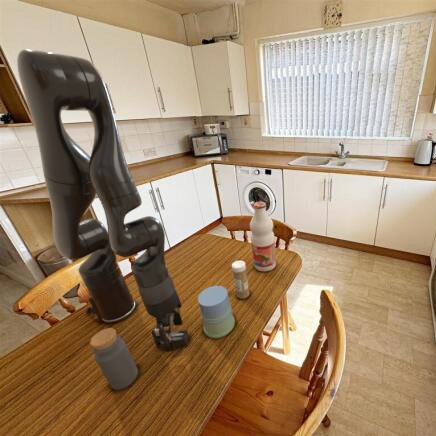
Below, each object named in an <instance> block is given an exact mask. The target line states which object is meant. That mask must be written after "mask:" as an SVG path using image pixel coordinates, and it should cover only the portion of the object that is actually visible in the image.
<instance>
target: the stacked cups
mask: <svg viewBox="0 0 436 436" xmlns="http://www.w3.org/2000/svg"><path fill="white" fill-rule="evenodd" d="M197 302H198V305H199V309H200V318H201V321H202V323H203V332H204V334H205V335H206V336H207V337H209V338H211V339H220V338H223V337H225V336H227V335H228V334H229V333H230V332H232V330H233V329H234V327H235V323H236V320H235V316H234V315H233V307H232V305H231V302H230V297H229V293H228V290H227V288H226V287H225V286H222V285H211V286H209V287H207V288H205V289H203V290H202V291H201V292H200V293H199V295H198V296H197Z"/></svg>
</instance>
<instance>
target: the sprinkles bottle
mask: <svg viewBox="0 0 436 436" xmlns="http://www.w3.org/2000/svg"><path fill="white" fill-rule="evenodd" d="M246 269H247V266H246V262H245V261H244V260H235V261H234V262H232V263H231V270H232V273H233V280H234V281H233V282H234V285H235V290H236V297H237V298H238V299H241V300H244V299H246V298H248V297H249V296H250V290H249V282H248V276H247V270H246Z"/></svg>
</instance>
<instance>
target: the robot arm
mask: <svg viewBox="0 0 436 436" xmlns="http://www.w3.org/2000/svg"><path fill="white" fill-rule="evenodd" d="M16 65H17V72H18V77H19V81H20V86H21V89H22V92H23V95H24V98H25V102H26V104H27V108H28V110H29V114H30V117H31V120H32V124H33V127H34V130H35V134H36V138H37V139H36V140H37V143H38V148H39V155H40V160H41V167H42V173H43V178H44V184H45V187H46V191H47V194H48V199H49V202H50V208H51V209H50V210H51V219H52V237H53V240H54V241H53V242H54V245H55V248H56V250H57V251H58V253H59V254H60V255H61V256H62V257H63V258H64V259H67V260H71V261H74V260H75V261H76V260H80V259H82V258H85V257H86V256H88V257H87V258H86V259H85V260H84V261H83V262H82V263H81V264H80V265H79V267H78V274H79V276H80V278H81V280H82V282H83V283H84V286H85V288H86V290H87V292H88V294H89V297H88V302H89V303H90V306H88V307H87V308H86V312H85V313H86V314H87V315H88V314H93V315H96V317H97V318H98V320H99V321H100V322H104V323H105V324H115V323H118V322H120V321H122V320H124V319H126V318H128V317H129V316H130V315H132V314H133V312H134V311H135V310H136V307H137V306H136V302H135V301H134V299H133V298H134V297H133V295H132V294H131V291H130V289H129V286H128V284H127V282H126V279H125V277H124V274H123V273H122V270H121V267H120V265H119V263H118V258H117V256H118V257H121V258H130V257H132V256H134V255H137V254H139V253H141V252H143V253H142V254H140V256H138V257H137V258H135V260H134V261H133V262H132V263H131V266H130V269H131V272H132V275H133V277H134V280H135V282H136V285H137V288H138V294H139V296H140V298H141V300H142V303H143V305H144V307H145V310H146V312H147V314H148V315H149V316H150V317H153V318H155V322H156V326H155V328H151V331H150V332H151V336H152V339H153V341H154V344H155V347H156V349H160V348H163V347H164V349H163V350H164V352H166V353H169V352H174V351H175V349H176V347H175V346H174V343H173V341H172V339H171V332H174V326H175V327H177V326H182V325H183V323H184V322H183V319H182V315H181V312H182V311H181V308H182V306H183V305H182V302H181V300H180V297H179V294H178V292H177V289H176V287H175V284H174V281H173V278H172V276H171V275H170V273H169V269H168V266H167V263H166V259H165V244H166V233H165V229H164V226H163V224H162V223H161V221H160V220H159V219H158V218H156V217H154V216H150V215H147V216H143V217H140V218H138V219H135V220H132V221H128V222H126V223H125V218H126V216H127V215H128V214H129V213H131V212H133V211H135V210H137V209H138V208H139V207H140V206H141V205H142V204H143V201H142V198H141V197H142V196H141V194H140V192H139V190H138V187H137V186H136V185H137V184H136V182H135V181H134V178H133V176H132V174H131V171H130V168H129V166H128V163H127V160H126V157H125V154H124V150H123V146H122V142H121V138H120V135H119V134H120V133H119V130H118V125H117V121H116V117H115V114H114V110H113V106H112V103H111V99H110V95H109V91H108V89H107V86H106V83H105V81H104V79H103V76H102V74H101V72H100V71H99V69H98V68H97V66H96V65H95V64H93V63H92V62H91V61H90V60H88V59H86V58H83V57H79V56H75V55H74V56H73V55H69V54H62V53H55V52H49V51H44V50H36V49H26V48H25V49H22V50H20V51H19V52H18V54H17V59H16ZM62 111H71V112H73V111H75V112H76V111H78V112H79V111H83V112H85V111H86V112H87V113H88V114H89V116H90V119H91V122H92V126H93V131H94V132H93V135H94V136H93V143H92V149H91V153H90V155H89V154H88V153H87V152H86V151H85V150H84V149H83V148H82V147H81V146H80V145H79V144H78V143H77V142H76V141H75V140H74V139H73V138H72V137H71V136H70V135H69V133H68V132H67V131H66V129H65V126H64V124H63V121H62ZM97 197H98V200H99V201H100V204H101V206H102V208H103V211H104V215H105V219H106V226H107V228H106V226H105V225H104V224H103V223H102V222H101V221H100V220H99V219H97V218H87V219H83V218H84V216H85V214H86V213H87V212H88V211H89V209H90V207H91V206H92V204H93V203H94V202H95V200H96V198H97ZM82 219H83V220H82ZM166 328H167V329H166ZM166 333H167V334H168V338H167V336H166Z"/></svg>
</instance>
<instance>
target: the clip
mask: <svg viewBox="0 0 436 436" xmlns="http://www.w3.org/2000/svg"><path fill="white" fill-rule="evenodd" d="M166 336H167V338H168V334H167V333H166ZM171 339H172V341H173V343H174V346H175V348H181V347H186V346H188V342H189V339H190V335H189V331H188V329H187V330H186V329H184V330H178V331H172V332H171ZM159 349H160V351H162V350H165V349H164V347H163V348H159Z"/></svg>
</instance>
